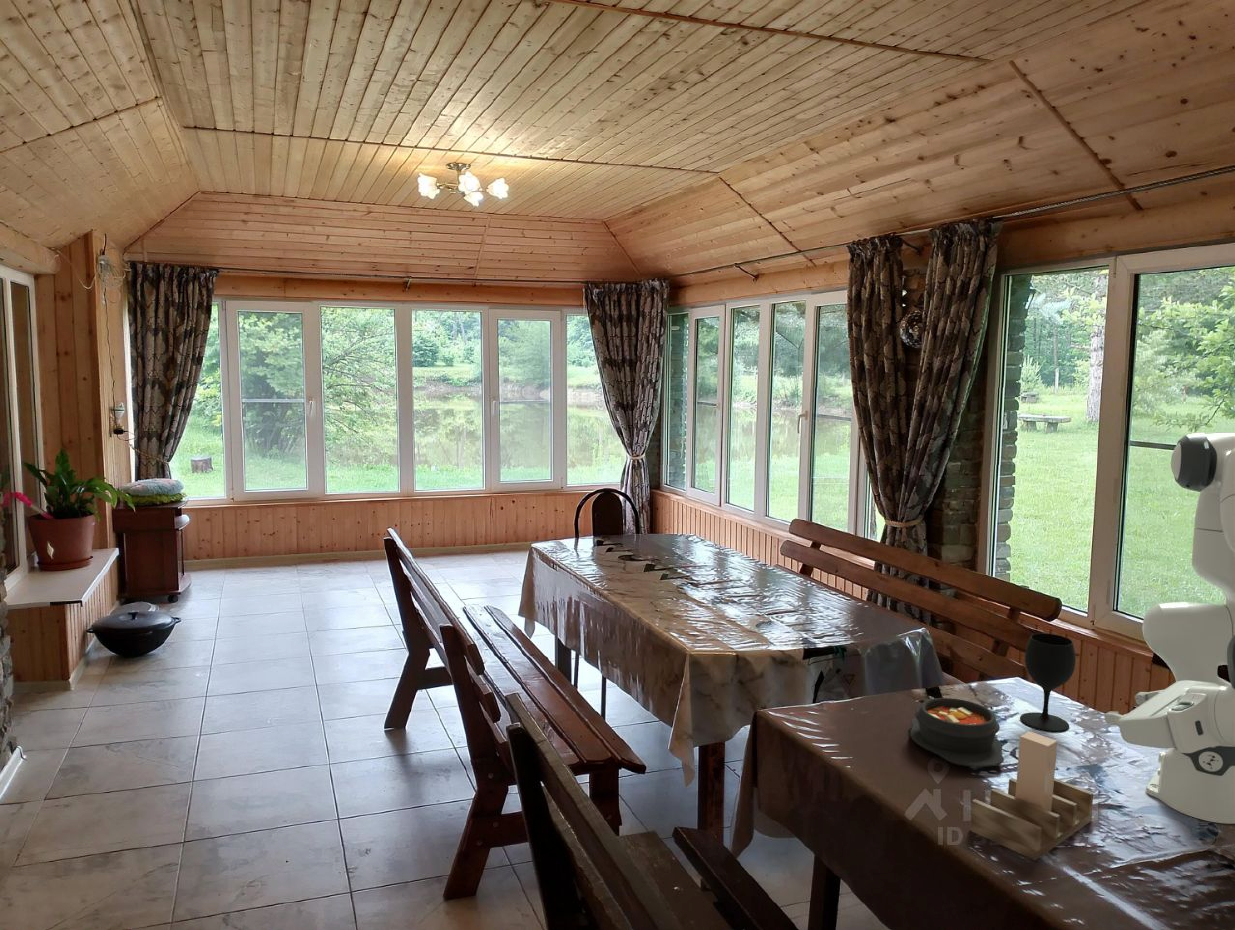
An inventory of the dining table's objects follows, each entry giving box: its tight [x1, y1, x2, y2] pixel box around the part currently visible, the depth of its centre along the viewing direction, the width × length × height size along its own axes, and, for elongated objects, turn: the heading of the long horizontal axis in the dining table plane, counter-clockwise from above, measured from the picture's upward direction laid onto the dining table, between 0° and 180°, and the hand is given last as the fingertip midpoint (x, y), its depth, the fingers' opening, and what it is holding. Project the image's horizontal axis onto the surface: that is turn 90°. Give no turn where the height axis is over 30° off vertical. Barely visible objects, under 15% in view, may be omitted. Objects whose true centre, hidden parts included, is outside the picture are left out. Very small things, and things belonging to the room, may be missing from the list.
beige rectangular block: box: [1015, 731, 1058, 812], centre depth 162 cm, size 5×4×15 cm
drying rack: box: [969, 777, 1094, 861], centre depth 163 cm, size 12×21×6 cm, turn 129°
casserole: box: [909, 697, 1005, 768], centre depth 194 cm, size 25×19×8 cm
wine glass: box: [1019, 632, 1077, 733], centre depth 207 cm, size 10×10×20 cm
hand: (1122, 707), depth 151 cm, fingers open, 8 cm apart
